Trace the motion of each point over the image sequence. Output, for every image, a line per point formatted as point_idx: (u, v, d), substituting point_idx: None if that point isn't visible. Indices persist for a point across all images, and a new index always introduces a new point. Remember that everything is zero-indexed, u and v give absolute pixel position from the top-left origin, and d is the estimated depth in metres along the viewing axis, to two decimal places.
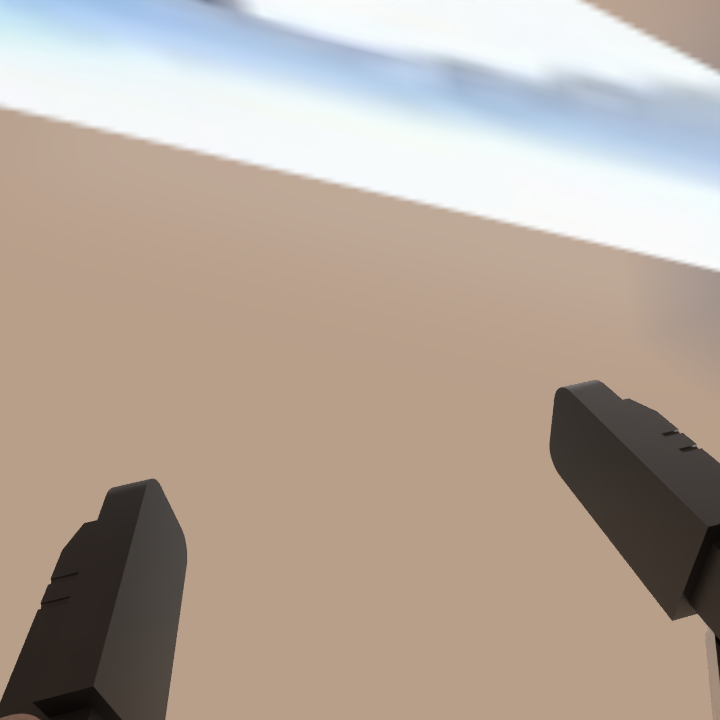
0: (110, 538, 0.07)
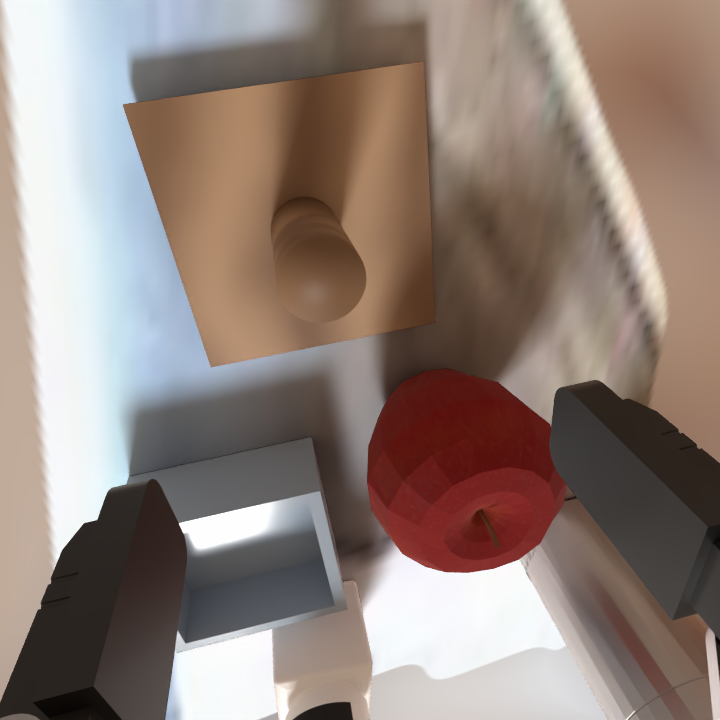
0: (110, 538, 0.07)
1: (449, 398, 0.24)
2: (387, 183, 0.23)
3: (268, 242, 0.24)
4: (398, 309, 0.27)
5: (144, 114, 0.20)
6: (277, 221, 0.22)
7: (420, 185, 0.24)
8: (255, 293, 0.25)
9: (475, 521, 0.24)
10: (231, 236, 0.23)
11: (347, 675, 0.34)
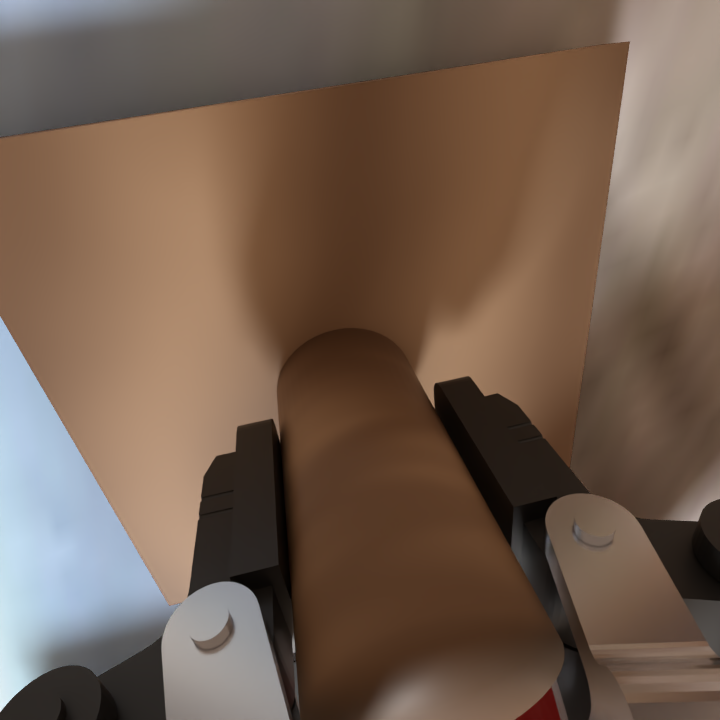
0: (253, 462, 0.08)
1: None
2: (514, 295, 0.11)
3: (272, 412, 0.12)
4: None
5: None
6: (293, 403, 0.10)
7: (576, 294, 0.12)
8: None
9: None
10: (196, 407, 0.11)
11: None
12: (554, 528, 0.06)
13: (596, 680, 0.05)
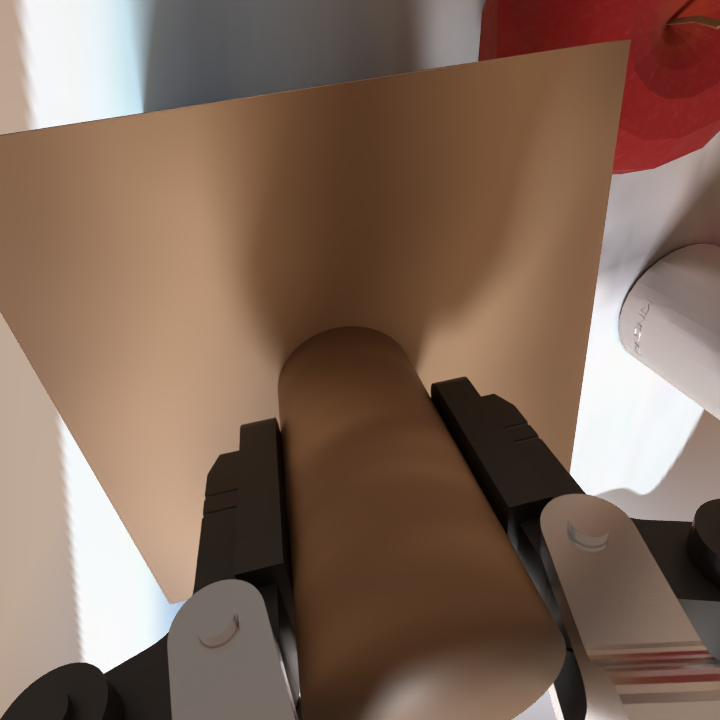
0: (256, 460, 0.08)
1: None
2: (515, 293, 0.11)
3: (273, 410, 0.12)
4: None
5: None
6: (294, 400, 0.10)
7: (577, 293, 0.12)
8: None
9: (665, 39, 0.16)
10: (197, 405, 0.11)
11: None
12: (549, 529, 0.06)
13: (592, 681, 0.05)
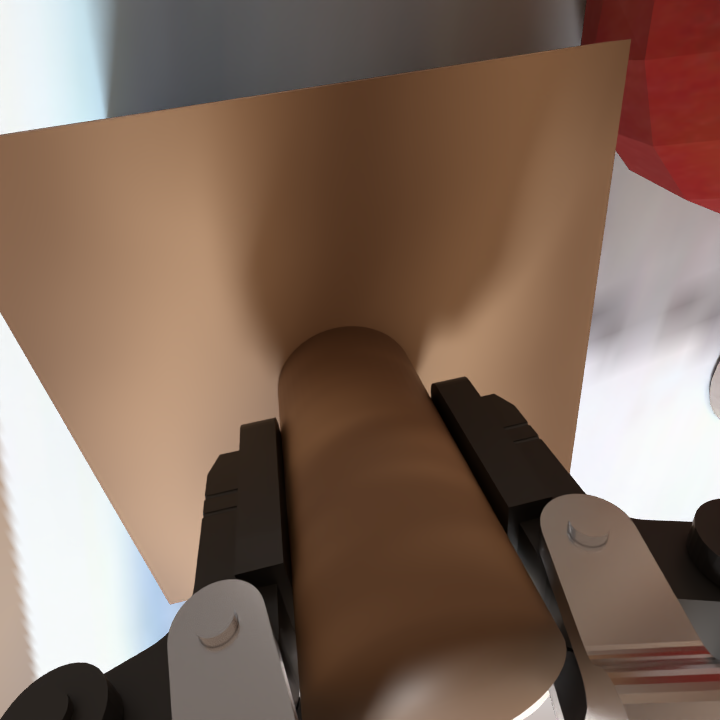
0: (256, 460, 0.08)
1: None
2: (515, 293, 0.11)
3: (273, 410, 0.12)
4: None
5: None
6: (294, 401, 0.10)
7: (577, 293, 0.12)
8: None
9: None
10: (197, 405, 0.11)
11: None
12: (549, 529, 0.06)
13: (592, 681, 0.05)
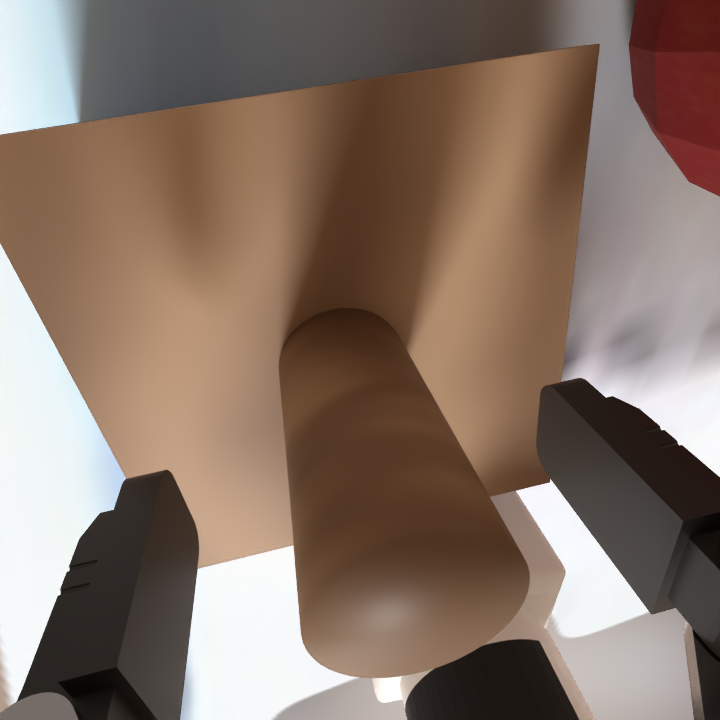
0: (127, 526, 0.08)
1: None
2: (498, 278, 0.12)
3: (274, 387, 0.13)
4: (493, 469, 0.16)
5: (1, 164, 0.09)
6: (293, 373, 0.11)
7: (556, 278, 0.13)
8: (250, 466, 0.14)
9: None
10: (204, 381, 0.12)
11: None
12: None
13: None
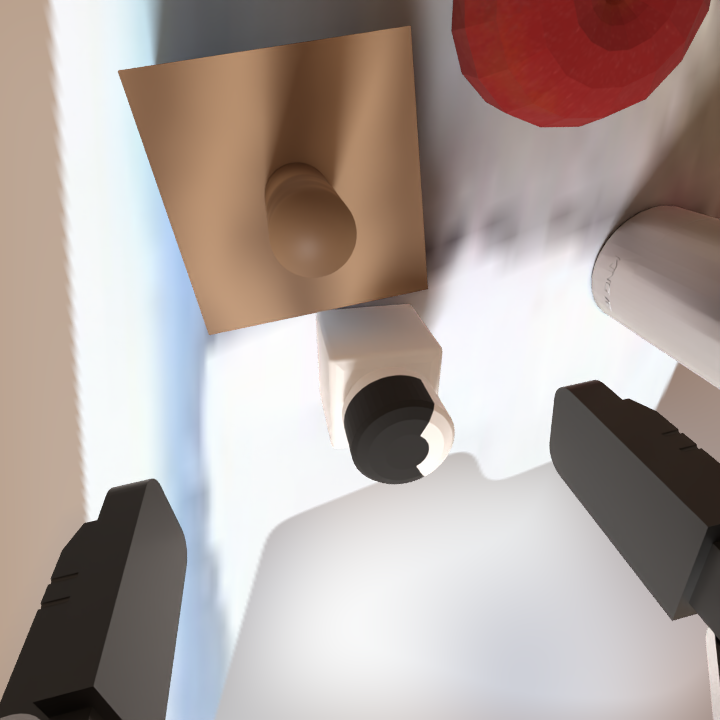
0: (110, 538, 0.07)
1: None
2: (377, 148, 0.24)
3: (262, 208, 0.24)
4: (391, 276, 0.28)
5: (139, 80, 0.21)
6: (270, 185, 0.22)
7: (409, 150, 0.24)
8: (250, 260, 0.26)
9: None
10: (226, 202, 0.24)
11: (414, 359, 0.29)
12: None
13: None
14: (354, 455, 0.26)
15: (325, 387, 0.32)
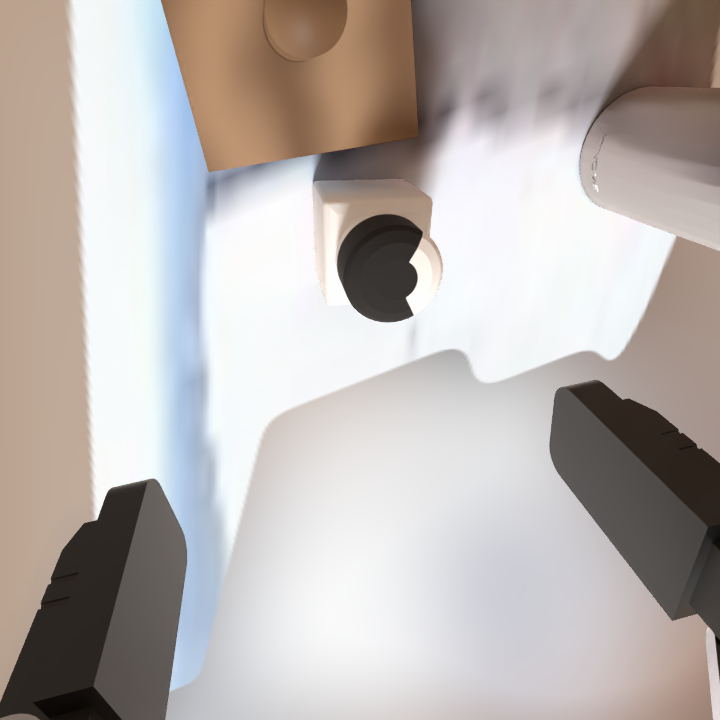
0: (110, 538, 0.07)
1: None
2: None
3: (260, 34, 0.26)
4: (383, 119, 0.29)
5: None
6: None
7: None
8: (248, 91, 0.27)
9: None
10: (226, 25, 0.25)
11: (405, 207, 0.30)
12: None
13: None
14: (346, 284, 0.28)
15: (320, 246, 0.33)
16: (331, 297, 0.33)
